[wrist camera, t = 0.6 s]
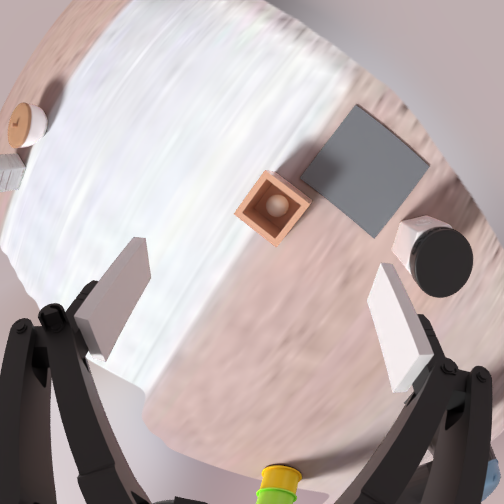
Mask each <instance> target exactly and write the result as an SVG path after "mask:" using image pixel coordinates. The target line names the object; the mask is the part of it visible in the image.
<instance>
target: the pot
mask: <svg viewBox="0 0 504 504" xmlns="http://www.w3.org/2000/svg"><path fill="white" fill-rule="evenodd" d="M273 195H282V196H284V197H285V198H286V199H287V201H288V204H289V208H288V211H287V213H286V214H285V215H283V216H281V217H274V216H271V215H270V214H269V213H268V211H267V209H266V203H267V200H268V199H269V198H270V197H271V196H273ZM312 201H313V200H311V199H310V198H309V197H308V196H306V195H305V194H304V193H302V192H301V191H300V190H299V189H297V188H296V187H295V186H293V185H292V184H291V183H289V182H288V181H287V180H285V179H284V178H283V177H281V176H280V175H279V174H277V173H276V172H273V171H267V170H265V171H264V172H263V174H262V175H261V177H260V178H259V179H258V181H257V182H256V183H255V185H254V186H253V188H252V189H251V190H250V192H249V193H248V195H247V196H246V197H245V199H244V200H243V202H242V203H241V204H240V206H239V207H238V209H237V210H236V211H235V213H234V215H236V216H237V217H238V218H240V219H241V220H242V221H243V222H245V223H246V224H247V225H248V226H250V227H251V228H252V229H254V230H255V231H256V232H257V233H259V234H260V235H261V236H262V237H264V238H265V239H266V240H267V241H269V242H270V243H271V244H273V245H274V246H275V247H277V246H278V245H279V244H280V242H281V241H282V240H283V238H284V237H285V236H286V235H287V233H288V232H289V231H290V230H291V228H292V227H293V226H294V224H295V223H296V222H297V221H298V219H299V218H300V217H301V216H302V214H303V213H304V212H305V210H306V209H307V208H308V207H309V205H310V204H311V203H312Z"/></svg>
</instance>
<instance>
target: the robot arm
mask: <svg viewBox="0 0 504 504" xmlns="http://www.w3.org/2000/svg"><path fill="white" fill-rule="evenodd" d="M150 279H151V273H150V267H149V260H148V252H147V244H146V238H139V237H133V239H132V240H131V241H130V242H129V243H128V245H127V246H126V247H125V248H124V250H123V251H122V252H121V253H120V254H119V256H118V257H117V258H116V260H115V261H114V262H113V263H112V265H111V266H110V267H109V268H108V270H107V271H106V272H105V274H104V275H103V276H102V278H101V279H100V280H99V281H94V280H93V281H91V282H90V283H88V284H87V285H86V286H85V287H84V288H83V289H82V291H81V292H80V294H79V295H78V296H77V297H76V299H75V300H74V301H73V303H72V304H71V305H70V307H69V308H68V309H67V311H66V312H65V311H64V308H63V306H62V305H60V304H57V303H53V304H49V305H47V306H45V307H44V308H42V309H41V311H40V312H39V315H38V318H39V320H40V323H41V325H42V326H33V324H32V322H31V320H29V319H26V318H23V319H19V320H18V321H16V322H15V323H14V324H13V325H12V327H11V329H10V333H9V337H8V341H7V345H6V349H5V354H4V358H3V363H2V369H1V374H0V504H57V501H56V491H55V484H54V476H53V466H52V455H51V433H50V399H51V378H52V381H53V386H54V390H55V395H56V399H57V403H58V407H59V411H60V415H61V419H62V423H63V426H64V429H65V433H66V436H67V439H68V442H69V446H70V449H71V451H72V454H73V457H74V460H75V463H76V465H77V468H78V471H79V476H78V477H77V479H78V484H79V487H80V489H81V492H82V494H83V496H84V499H85V501H86V503H87V504H152V503H151V501H150V500H149V498H148V496H147V495H146V493H145V492H144V491H143V489H142V488H141V486H140V485H139V484H138V482H137V480H136V479H135V477H134V475H133V473H132V471H131V469H130V467H129V465H128V463H127V461H126V459H125V457H124V455H123V453H122V451H121V448H120V446H119V444H118V442H117V440H116V437H115V436H114V433H113V431H112V428H111V426H110V424H109V421H108V418H107V416H106V413H105V411H104V408H103V406H102V403H101V400H100V398H99V395H98V392H97V389H96V386H95V383H94V380H93V377H92V374H91V371H90V368H89V364H88V361H87V359H86V357H85V356H86V354H87V352H88V351H89V352H90V354H91V356H92V358H94V359H97V360H100V361H104V362H106V361H107V359H108V357H109V355H110V353H111V351H112V349H113V347H114V345H115V343H116V341H117V339H118V337H119V335H120V333H121V331H122V330H123V328H124V326H125V324H126V322H127V320H128V318H129V316H130V315H131V313H132V311H133V309H134V307H135V306H136V304H137V302H138V300H139V298H140V297H141V295H142V293H143V291H144V289H145V288H146V286H147V284H148V283H149V281H150ZM367 302H368V306H369V309H370V312H371V315H372V318H373V322H374V325H375V328H376V332H377V335H378V339H379V342H380V346H381V349H382V353H383V356H384V360H385V364H386V368H387V372H388V376H389V380H390V384H391V388H392V392H393V393H396V392H407V390H408V389H409V388H410V387H411V385H413V389H414V392H413V393H412V394H411V395H410V397H409V398H408V399H407V400H406V401H405V403H404V404H406V405H405V406H404V408H403V410H402V411H401V413H400V415H399V416H398V418H397V420H396V421H395V423H394V425H393V426H392V428H391V429H390V431H389V432H388V434H387V435H386V437H385V438H384V440H383V441H382V443H381V444H380V446H379V447H378V449H377V450H376V452H375V453H374V454H373V456H372V457H371V459H370V460H369V461H368V463H367V464H366V465H365V467H364V468H363V469H362V471H361V472H360V473H359V474H358V476H357V477H356V478H355V480H354V481H353V482H352V483H351V484H350V486H349V487H348V488H347V489H346V490H345V492H344V493H343V494H342V495H341V496H340V497H339V499H338V500H337V501H336V502H335V503H334V504H481V502H482V501H483V500H485V499H486V498H487V497H488V496H489V495H490V494H491V493H492V492H493V491H494V489H495V488H496V487H497V485H498V484H499V481H500V478H501V476H500V475H501V474H500V470H499V467H498V460H497V459H496V457H495V454H494V452H493V449H492V447H491V444H490V441H491V427H492V378H491V375H490V373H489V371H488V370H487V369H486V368H484V367H482V366H476V367H474V368H473V369H472V371H471V372H467V371H463V370H459V369H458V366H457V365H456V364H455V362H453V361H452V360H451V359H449V358H445V355H444V353H443V350H442V348H441V346H440V343H439V341H438V339H437V337H436V334H435V332H434V331H433V328H432V326H431V323H430V321H429V320H428V319H427V318H426V317H425V316H424V315H423V314H417V313H416V311H415V309H414V307H413V304H412V302H411V300H410V298H409V296H408V294H407V292H406V290H405V288H404V286H403V284H402V282H401V280H400V278H399V276H398V274H397V272H396V270H395V268H394V266H393V264H388V263H380V266H379V269H378V272H377V275H376V277H375V280H374V283H373V286H372V288H371V291H370V294H369V296H368V299H367ZM427 449H428V450H429V451H430V452H431V454H432V455H433V458H434V459H433V461H431V462H428V463H425V464H423V465H420V466H419V464H420V462H421V460H422V458H423V456H424V455H425V453H426V451H427ZM153 504H207V503H205V502H200V501H195V500H190V499H184V498H180V497H176V496H175V499H174V500H166V501H160V502H156V503H153Z"/></svg>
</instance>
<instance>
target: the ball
mask: <svg viewBox="0 0 504 504" xmlns="http://www.w3.org/2000/svg"><path fill="white" fill-rule="evenodd" d="M288 208H289V204H288V201H287V199H286V198H285V197H284V196H282V195H273V196H271V197H270V198H269V199H268V200H267V203H266V209H267V211H268V213H269V214H270V215H271V216H274V217H281V216H283V215H285V214H286V213H287V211H288Z"/></svg>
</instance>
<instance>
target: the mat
mask: <svg viewBox="0 0 504 504" xmlns="http://www.w3.org/2000/svg"><path fill="white" fill-rule="evenodd" d="M428 168H429V166H428V165H427V164H426V163H425V162H424V161H423V160H422V159H421V158H420V157H419V156H418V155H416V154H415V153H414V152H413V151H412V150H411V149H410V148H409V147H408V146H406V145H405V144H404V143H403V142H402V141H401V140H400V139H398V138H397V137H396V136H395V135H394V134H392V133H391V132H390V131H389V130H388V129H386V128H385V127H384V126H383V125H381V124H380V123H379V122H378V121H376V120H375V119H374V118H373V117H371V116H370V115H369V114H367V113H366V112H365V111H363V110H362V109H361V108H359V107H358V106H357V105H355V106H354V108H353V109H352V110H351V112H350V113H349V114H348V115H347V117H346V118H345V119H344V121H343V122H342V123H341V125H340V126H339V127H338V129H337V130H336V131H335V132H334V134H333V135H332V136H331V138H330V139H329V140H328V142H327V143H326V144H325V146H324V147H323V148H322V149H321V151H320V152H319V153H318V155H317V156H316V157H315V159H314V160H313V161H312V163H311V164H310V165H309V167H308V168H307V169H306V170H305V172H304V173H303V174H302V176H301V177H300V178H301V179H302V180H303V181H304V182H306V183H307V184H308V185H310V186H311V187H312V188H314V189H315V190H316V191H317V192H319V193H320V194H321V195H322V196H324V197H325V198H326V199H327V200H329V201H330V202H331V203H332V204H334V205H335V206H336V207H337V208H339V209H340V210H341V211H342V212H343V213H345V214H346V215H347V216H348V217H349V218H351V219H352V220H353V221H354V222H355V223H357V224H358V225H359V226H360V227H361V228H362V229H364V230H365V231H366V232H367V233H368V234H369V235H371V236H372V237H373V238H375V237H376V236H377V235H378V233H379V232H380V231H381V230H382V228H383V227H384V226H385V225H386V224H387V222H388V221H389V220H390V218H391V217H392V216H393V215H394V213H395V212H396V211H397V210H398V208H399V207H400V206H401V204H402V203H403V202H404V200H405V199H406V198H407V197H408V195H409V194H410V193H411V191H412V190H413V189H414V187H415V186H416V185H417V183H418V182H419V180H420V179H421V178H422V176H423V175H424V174H425V172H426V171H427V169H428Z"/></svg>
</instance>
